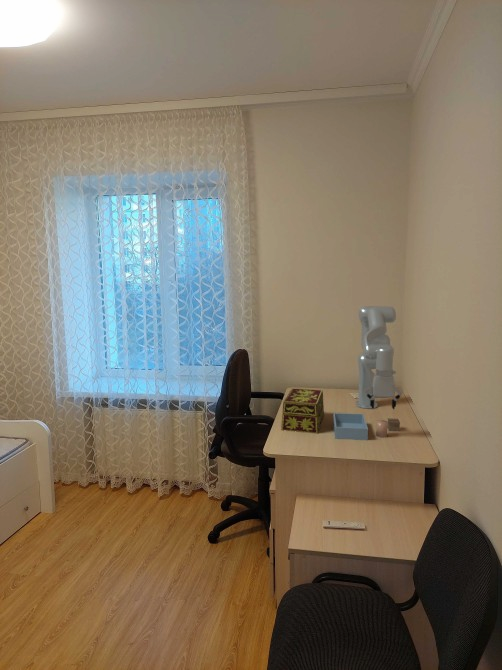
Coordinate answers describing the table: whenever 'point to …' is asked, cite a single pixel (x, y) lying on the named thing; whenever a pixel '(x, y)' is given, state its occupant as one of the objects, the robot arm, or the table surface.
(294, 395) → the decorative box
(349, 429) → the tote
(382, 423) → the canister
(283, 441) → the table surface
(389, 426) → the walnut block
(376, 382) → the robot arm
